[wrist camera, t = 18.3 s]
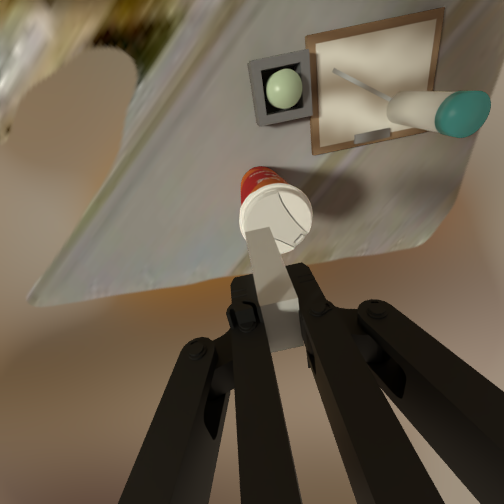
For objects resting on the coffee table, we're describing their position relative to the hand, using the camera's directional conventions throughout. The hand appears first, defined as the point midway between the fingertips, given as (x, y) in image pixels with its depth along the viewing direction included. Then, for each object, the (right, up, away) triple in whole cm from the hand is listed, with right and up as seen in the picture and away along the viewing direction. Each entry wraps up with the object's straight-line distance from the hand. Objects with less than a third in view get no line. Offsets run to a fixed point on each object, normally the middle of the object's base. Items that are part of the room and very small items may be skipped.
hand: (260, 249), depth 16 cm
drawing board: (+16, +22, +20) cm, 34 cm away
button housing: (+3, +21, +19) cm, 29 cm away
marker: (+20, +20, +21) cm, 35 cm away
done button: (+3, +21, +18) cm, 28 cm away
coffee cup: (+1, +10, +25) cm, 27 cm away
